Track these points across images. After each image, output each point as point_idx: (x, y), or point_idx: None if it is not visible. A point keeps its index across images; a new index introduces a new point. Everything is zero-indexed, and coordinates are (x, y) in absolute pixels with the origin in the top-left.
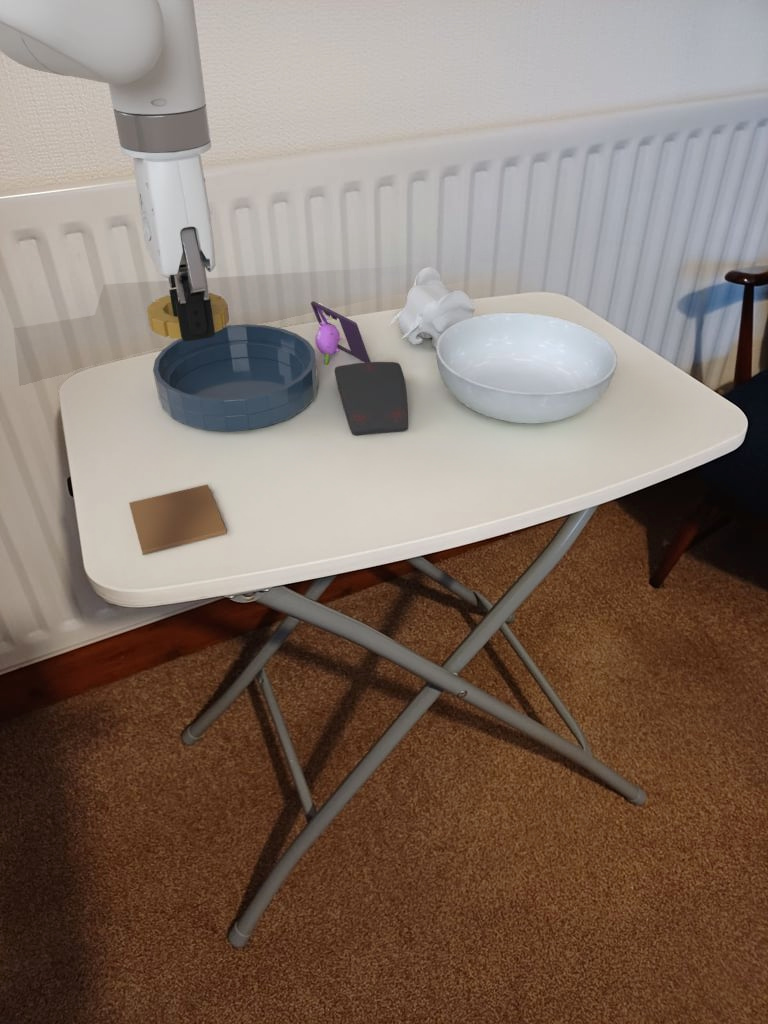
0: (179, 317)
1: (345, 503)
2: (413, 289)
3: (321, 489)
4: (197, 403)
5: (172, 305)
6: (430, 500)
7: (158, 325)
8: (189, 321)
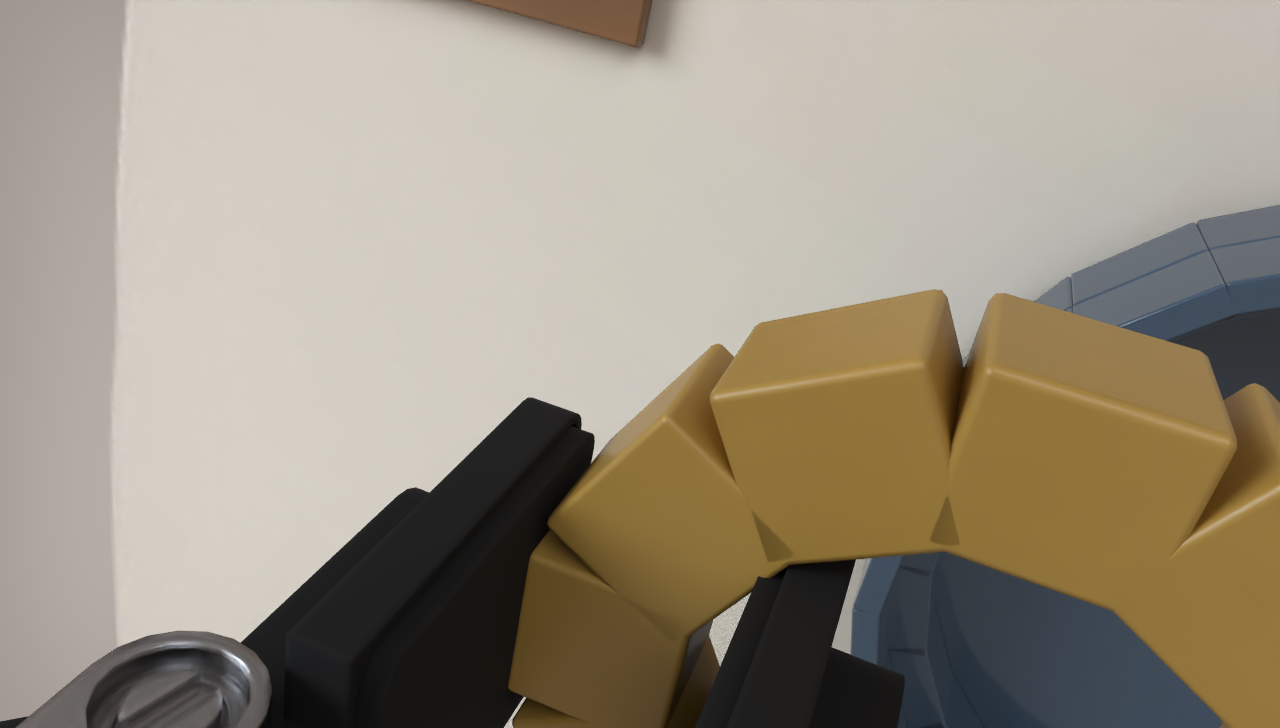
0: (399, 524)
1: (320, 391)
2: None
3: (417, 384)
4: (1101, 320)
5: (761, 662)
6: (235, 567)
7: (815, 351)
8: (338, 552)
